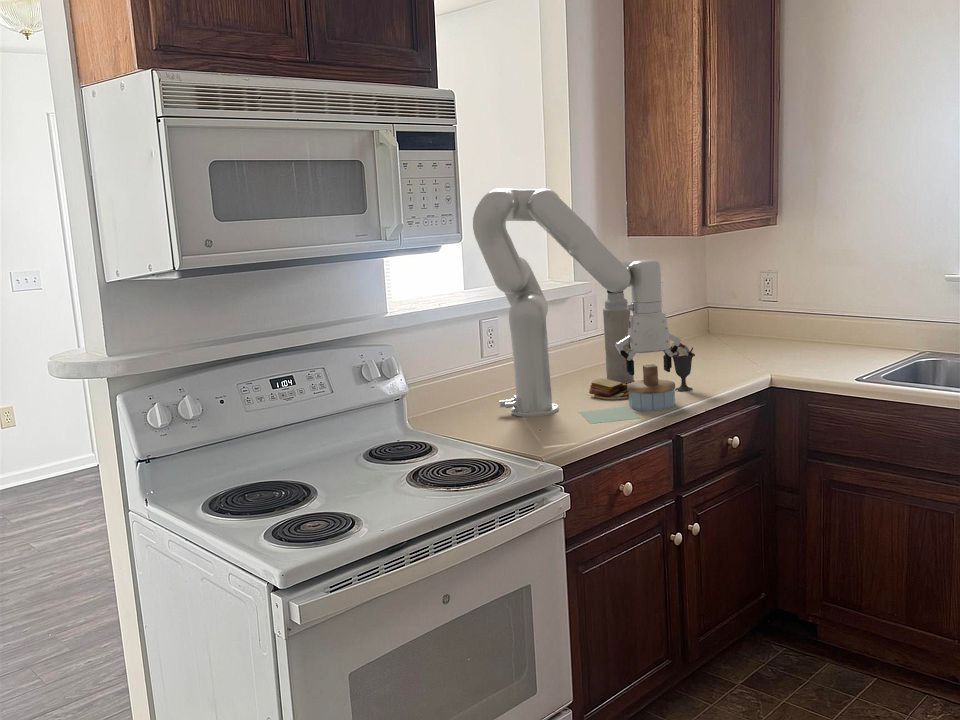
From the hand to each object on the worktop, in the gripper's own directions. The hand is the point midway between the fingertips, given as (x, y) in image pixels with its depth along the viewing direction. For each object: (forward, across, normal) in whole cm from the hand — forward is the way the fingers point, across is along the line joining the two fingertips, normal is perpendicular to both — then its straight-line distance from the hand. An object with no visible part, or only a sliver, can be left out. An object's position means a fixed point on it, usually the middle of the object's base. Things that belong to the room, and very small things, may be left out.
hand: (649, 372), depth 231 cm
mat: (+9, -13, -5) cm, 16 cm away
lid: (+4, 0, 0) cm, 4 cm away
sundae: (+9, +14, +15) cm, 23 cm away
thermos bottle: (+10, +1, +34) cm, 35 cm away
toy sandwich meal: (+10, -6, +16) cm, 19 cm away
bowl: (+9, 0, 0) cm, 9 cm away
